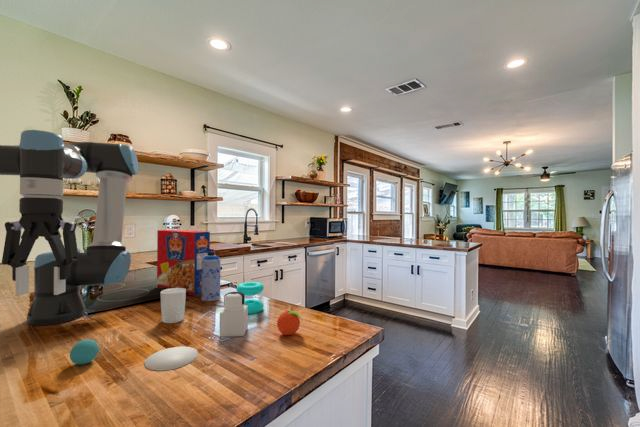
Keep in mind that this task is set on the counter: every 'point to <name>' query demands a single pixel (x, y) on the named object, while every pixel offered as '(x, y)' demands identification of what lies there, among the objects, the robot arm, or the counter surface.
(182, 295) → the white cup
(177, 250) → the pasta box
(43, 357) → the counter surface
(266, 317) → the counter surface
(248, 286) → the donuts
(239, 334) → the medicine bottle
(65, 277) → the robot arm
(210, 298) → the aerosol can
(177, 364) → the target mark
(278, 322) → the clementine
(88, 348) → the ball
